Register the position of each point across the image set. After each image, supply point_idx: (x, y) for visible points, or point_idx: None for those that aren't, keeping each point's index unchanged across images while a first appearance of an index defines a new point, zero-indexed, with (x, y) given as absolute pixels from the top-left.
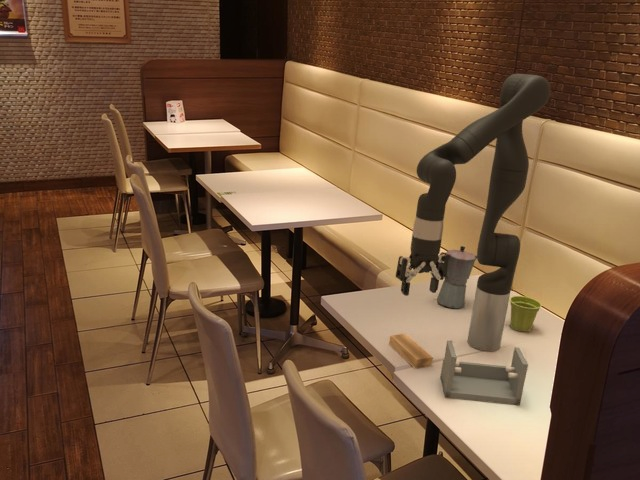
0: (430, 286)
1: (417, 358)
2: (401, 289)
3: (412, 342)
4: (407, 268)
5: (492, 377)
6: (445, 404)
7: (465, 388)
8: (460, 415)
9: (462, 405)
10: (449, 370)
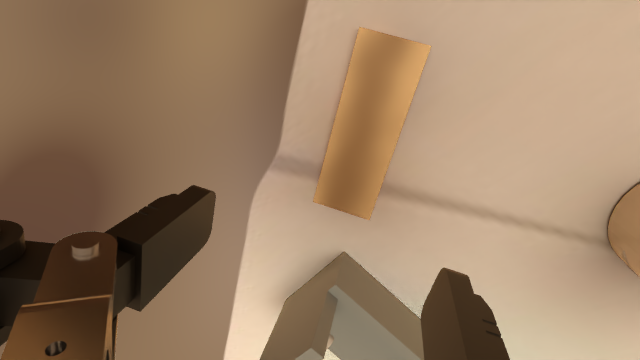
0: (446, 294)
1: (319, 198)
2: (153, 208)
3: (391, 117)
4: (18, 342)
5: None
6: (267, 311)
7: (332, 329)
8: (266, 343)
9: None
10: (261, 355)
